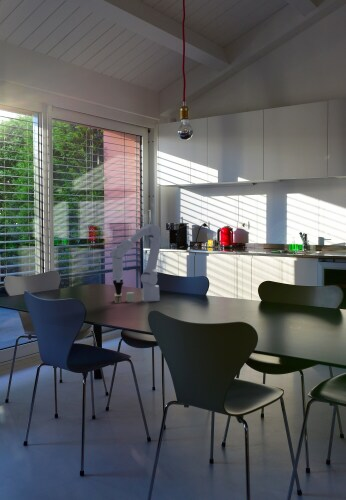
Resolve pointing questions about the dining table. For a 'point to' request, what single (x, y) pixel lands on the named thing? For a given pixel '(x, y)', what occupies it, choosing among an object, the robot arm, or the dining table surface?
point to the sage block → (130, 297)
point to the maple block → (118, 298)
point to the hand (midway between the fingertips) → (118, 293)
